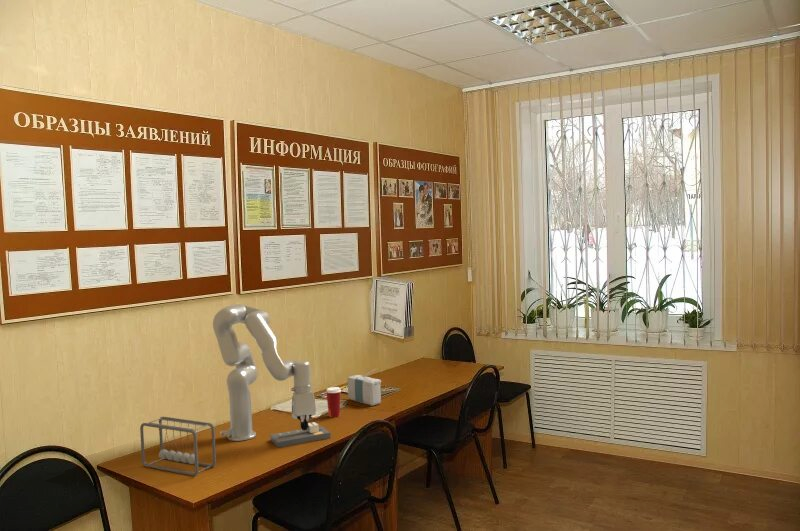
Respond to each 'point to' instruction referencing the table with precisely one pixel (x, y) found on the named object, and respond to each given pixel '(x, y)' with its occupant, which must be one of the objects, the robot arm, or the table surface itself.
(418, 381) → the table surface
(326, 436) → the fader panel
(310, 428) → the fader knob
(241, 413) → the robot arm
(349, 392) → the stereo radio cassette player
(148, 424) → the newton's cradle
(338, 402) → the paper cup
